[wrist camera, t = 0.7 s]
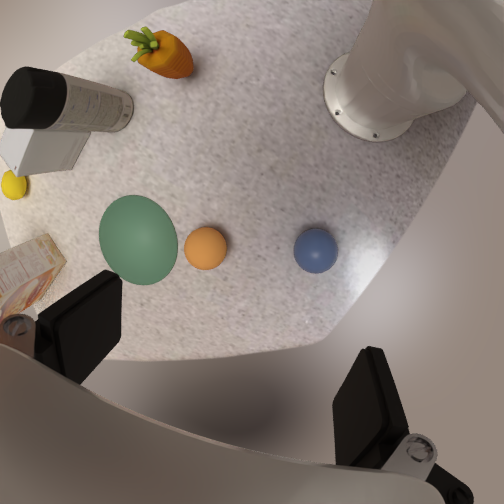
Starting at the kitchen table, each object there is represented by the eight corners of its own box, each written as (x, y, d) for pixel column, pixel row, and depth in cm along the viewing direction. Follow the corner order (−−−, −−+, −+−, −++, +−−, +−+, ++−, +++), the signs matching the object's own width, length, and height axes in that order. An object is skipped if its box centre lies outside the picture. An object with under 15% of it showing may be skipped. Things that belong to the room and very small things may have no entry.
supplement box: (92, 132, 39) (34, 131, 27) (71, 171, 41) (15, 179, 29) (68, 111, 38) (13, 106, 26) (49, 147, 40) (-5, 151, 28)
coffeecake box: (40, 300, 51) (-23, 344, 32) (23, 274, 50) (-42, 311, 31) (68, 262, 46) (-11, 306, 28) (47, 231, 45) (-33, 265, 27)
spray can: (124, 81, 36) (27, 51, 17) (142, 115, 37) (40, 97, 18) (93, 108, 38) (-7, 97, 19) (109, 142, 39) (5, 143, 20)
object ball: (215, 215, 40) (203, 224, 35) (238, 249, 41) (229, 262, 36) (184, 236, 41) (169, 247, 36) (207, 268, 42) (194, 283, 37)
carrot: (213, 76, 34) (168, 36, 20) (182, 95, 36) (124, 68, 21) (196, 50, 33) (148, 5, 19) (166, 70, 35) (107, 36, 20)
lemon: (36, 183, 43) (18, 190, 38) (26, 202, 45) (8, 211, 40) (19, 159, 42) (0, 164, 37) (9, 179, 43) (-9, 185, 38)
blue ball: (322, 216, 38) (326, 225, 33) (342, 251, 39) (348, 265, 34) (286, 238, 39) (284, 250, 34) (307, 271, 40) (308, 288, 35)
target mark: (142, 176, 40) (141, 176, 39) (196, 257, 42) (195, 257, 42) (86, 228, 44) (85, 228, 43) (133, 298, 46) (132, 299, 46)
